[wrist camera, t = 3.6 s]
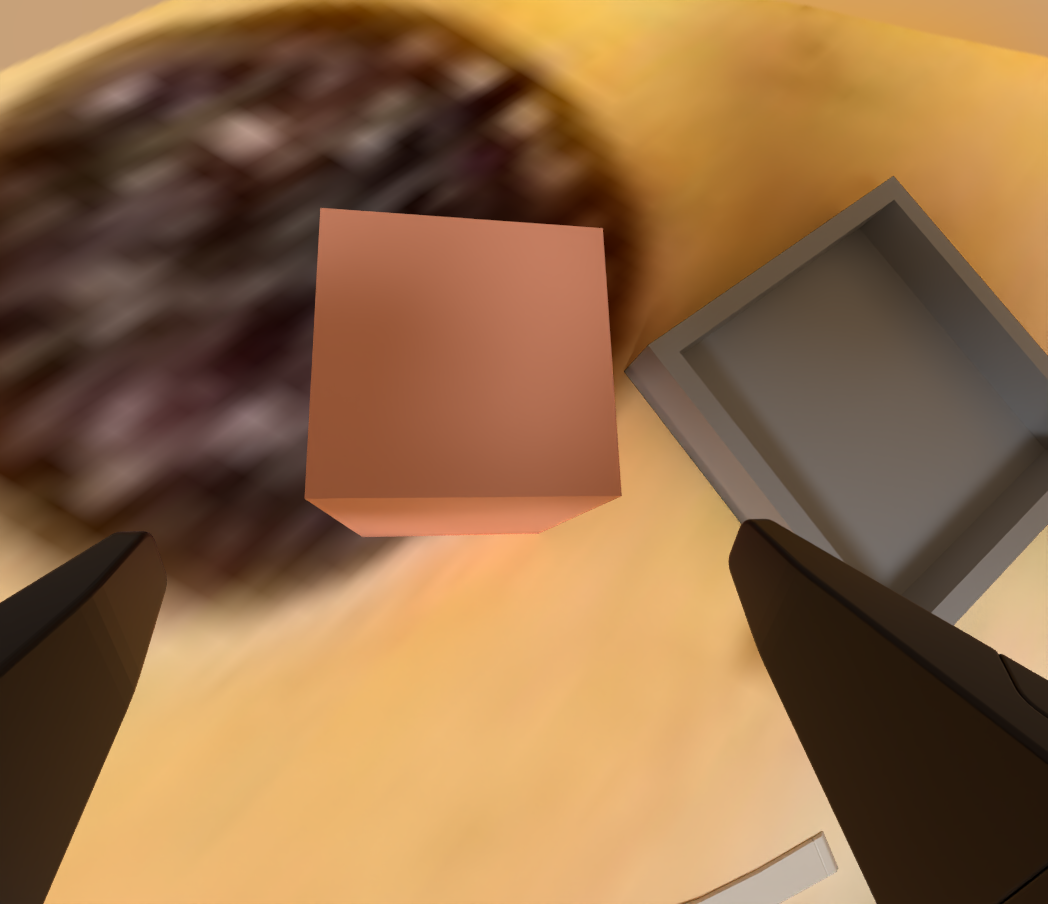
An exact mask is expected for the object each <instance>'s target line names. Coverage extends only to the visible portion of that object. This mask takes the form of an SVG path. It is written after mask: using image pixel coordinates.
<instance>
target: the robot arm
mask: <svg viewBox="0 0 1048 904" xmlns="http://www.w3.org/2000/svg"><path fill="white" fill-rule="evenodd" d="M729 569H730V573H731V575H732V578H733V581H734V584H735V587H736V590H737V593H738V595H739V598H740V601H741V604H742V607H743V610H744V613H745V615H746V618H747V621H748V624H749V627H750V630H751V633H752V636H753V638H754V641H755V644H756V646H757V649H758V651H759V654H760V656H761V658H762V660H763V663H764V665H765V667H766V669H767V671H768V674H769V676H770V678H771V680H772V682H773V684H774V686H775V688H776V691H777V693H778V695H779V697H780V699H781V701H782V703H783V705H784V708H785V710H786V712H787V714H788V716H789V718H790V720H791V722H792V725H793V727H794V729H795V731H796V733H797V735H798V737H799V739H800V742H801V744H802V746H803V748H804V750H805V752H806V754H807V757H808V759H809V761H810V763H811V765H812V767H813V769H814V771H815V774H816V776H817V778H818V780H819V782H820V784H821V786H822V788H823V791H824V793H825V795H826V797H827V799H828V801H829V803H830V805H831V808H832V810H833V812H834V814H835V816H836V818H837V820H838V822H839V825H840V827H841V829H842V831H843V833H844V835H845V837H846V839H847V842H848V844H849V846H850V848H851V850H852V852H853V854H854V857H855V859H856V861H857V863H858V865H859V867H860V869H861V871H862V874H863V876H864V878H865V880H866V882H867V884H868V886H869V888H870V891H871V893H872V895H873V897H874V899H875V901H876V903H877V904H1048V680H1046V679H1045V678H1043V677H1041V676H1039V675H1038V674H1036V673H1034V672H1032V671H1031V670H1029V669H1027V668H1025V667H1024V666H1022V665H1020V664H1019V663H1017V662H1015V661H1013V660H1012V659H1010V658H1008V657H1007V656H1005V655H1003V654H998V653H997V651H996V650H994V649H993V648H991V647H989V646H987V645H986V644H984V643H982V642H981V641H979V640H977V639H975V638H974V637H972V636H970V635H969V634H967V633H965V632H963V631H962V630H960V629H958V628H957V627H955V626H953V625H951V624H950V623H948V622H946V621H944V620H943V619H941V618H939V617H938V616H936V615H934V614H932V613H931V612H929V611H927V610H926V609H924V608H922V607H920V606H919V605H917V604H915V603H913V602H912V601H910V600H908V599H907V598H905V597H903V596H901V595H900V594H898V593H896V592H895V591H893V590H891V589H889V588H888V587H886V586H884V585H883V584H881V583H879V582H877V581H876V580H874V579H872V578H870V577H869V576H867V575H865V574H864V573H862V572H860V571H858V570H857V569H855V568H853V567H852V566H850V565H848V564H846V563H845V562H843V561H841V560H840V559H838V558H836V557H834V556H833V555H831V554H829V553H827V552H826V551H824V550H822V549H821V548H819V547H817V546H815V545H814V544H812V543H810V542H809V541H807V540H805V539H803V538H802V537H800V536H798V535H797V534H795V533H793V532H791V531H790V530H788V529H786V528H785V527H783V526H781V525H779V524H778V523H776V522H774V521H772V520H770V519H748V520H745V521H744V522H743V523H742V524H741V526H740V528H739V531H738V534H737V536H736V539H735V542H734V544H733V547H732V550H731V552H730V555H729ZM166 585H167V578H166V572H165V569H164V566H163V563H162V560H161V557H160V554H159V551H158V548H157V545H156V542H155V540H154V538H153V536H152V535H151V534H150V533H148V532H144V531H139V532H117V533H114V534H112V535H110V536H108V537H107V538H105V539H103V540H102V541H100V542H99V543H97V544H95V545H94V546H92V547H90V548H89V549H87V550H86V551H84V552H82V553H81V554H79V555H77V556H76V557H74V558H72V559H71V560H69V561H68V562H66V563H64V564H63V565H61V566H59V567H58V568H56V569H55V570H53V571H51V572H50V573H48V574H46V575H45V576H43V577H41V578H40V579H38V580H37V581H35V582H33V583H32V584H30V585H28V586H27V587H25V588H24V589H22V590H20V591H19V592H17V593H15V594H14V595H12V596H10V597H9V598H7V599H6V600H4V601H2V602H1V603H0V904H43V903H44V901H45V899H46V896H47V894H48V892H49V890H50V887H51V885H52V883H53V880H54V878H55V876H56V873H57V871H58V869H59V866H60V864H61V862H62V859H63V857H64V855H65V853H66V850H67V848H68V846H69V843H70V841H71V839H72V836H73V834H74V832H75V829H76V827H77V825H78V822H79V820H80V818H81V816H82V813H83V811H84V809H85V806H86V804H87V802H88V799H89V797H90V795H91V792H92V790H93V788H94V786H95V783H96V781H97V779H98V776H99V774H100V772H101V769H102V767H103V765H104V762H105V760H106V758H107V755H108V753H109V751H110V749H111V746H112V744H113V742H114V739H115V737H116V735H117V732H118V730H119V728H120V725H121V723H122V721H123V718H124V716H125V714H126V712H127V709H128V707H129V704H130V702H131V699H132V697H133V694H134V692H135V689H136V686H137V683H138V680H139V677H140V674H141V671H142V667H143V664H144V661H145V657H146V654H147V651H148V647H149V644H150V641H151V638H152V634H153V631H154V628H155V624H156V621H157V618H158V614H159V611H160V608H161V604H162V601H163V598H164V594H165V591H166Z"/></svg>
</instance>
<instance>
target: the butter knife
mask: <svg viewBox="0 0 1048 904" xmlns="http://www.w3.org/2000/svg"><path fill="white" fill-rule="evenodd" d="M837 870H838V866H837V864H836V861H835V859H834V856H833V854H832V852H831V849H830V847H829V844H828V842H827V840H826V837H825V835H824V833H823V831H821V832H820V833H819V834H818V835H816V836H814V837H813V838H812V839H809V840H807V841H806V842H804V843H802V844H800V845H799V846H797V847H795V848H794V849H792V850H790V851H788V852H787V853H785V854H783V855H782V856H780V857H778V858H776V859H775V860H773V861H771V862H769V863H768V864H766V865H764V866H762V867H761V868H759V869H757V870H755V871H753V872H751V873H749V874H747V875H745V876H743V877H741V878H739V879H737V880H735V881H733V882H731V883H729V884H727V885H725V886H723V887H721V888H719V889H717V890H715V891H713V892H711V893H709V894H707V895H705V896H703V897H701V898H699V899H696V900H693V901H690V902H687V903H685V904H780V903H781V902H783V901H785V900H787V899H789V898H791V897H792V896H794V895H796V894H798V893H800V892H801V891H803V890H805V889H807V888H809V887H811V886H812V885H814V884H816V883H818V882H820V881H821V880H823V879H825V878H827V877H828V876H830V875H832V874H834V873H836V872H837Z"/></svg>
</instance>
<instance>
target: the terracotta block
mask: <svg viewBox="0 0 1048 904" xmlns="http://www.w3.org/2000/svg"><path fill="white" fill-rule="evenodd" d="M620 496H622V494H621V480H620V466H619V452H618V437H617V423H616V409H615V395H614V381H613V367H612V353H611V338H610V324H609V310H608V296H607V282H606V268H605V254H604V239H603V228H593V227H579V226H565V225H551V224H537V223H523V222H509V221H495V220H481V219H467V218H453V217H439V216H425V215H411V214H397V213H383V212H369V211H355V210H341V209H327V208H321V209H320V227H319V246H318V264H317V282H316V301H315V319H314V338H313V356H312V374H311V393H310V411H309V429H308V448H307V466H306V485H305V499H306V500H307V501H309V502H310V503H312V504H313V505H315V506H317V507H318V508H320V509H321V510H323V511H324V512H326V513H327V514H329V515H330V516H332V517H333V518H335V519H336V520H338V521H339V522H341V523H342V524H344V525H345V526H347V527H348V528H350V529H351V530H353V531H354V532H356V533H357V534H359V535H360V536H362V537H386V536H438V535H489V534H539V533H541V532H543V531H545V530H548V529H550V528H552V527H554V526H556V525H559V524H561V523H563V522H565V521H567V520H570V519H572V518H574V517H576V516H578V515H581V514H583V513H585V512H587V511H590V510H592V509H594V508H596V507H598V506H601V505H603V504H605V503H607V502H609V501H612V500H614V499H616V498H618V497H620Z"/></svg>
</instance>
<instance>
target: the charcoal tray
mask: <svg viewBox="0 0 1048 904" xmlns="http://www.w3.org/2000/svg"><path fill="white" fill-rule="evenodd" d="M624 372H625V373H626V375H627V376H628V377H629V378H630V380H631V381H632V382H633V384H634V385H635V386H636V388H637V389H638V390H639V391H640V393H641V394H642V395H643V397H644V398H645V399H646V401H647V402H648V403H649V404H650V406H651V407H652V408H653V410H654V411H655V412H656V414H657V415H658V416H659V417H660V419H661V420H662V421H663V423H664V424H665V425H666V427H667V428H668V429H669V430H670V432H671V433H672V434H673V436H674V437H675V438H676V440H677V441H678V442H679V443H680V445H681V446H682V447H683V449H684V450H685V451H686V453H687V454H688V455H689V456H690V458H691V459H692V460H693V462H694V463H695V464H696V466H697V467H698V468H699V469H700V471H701V472H702V473H703V475H704V476H705V477H706V478H707V480H708V481H709V482H710V484H711V485H712V486H713V488H714V489H715V490H716V491H717V493H718V494H719V495H720V497H721V498H722V499H723V501H724V502H725V503H726V504H727V506H728V507H729V508H730V510H731V511H732V512H733V514H734V515H735V516H736V517H737V519H738V520H739V521H740V523H741V524H742V523H743V522H744V521H745V520H748V519H770V520H772V521H774V522H776V523H778V524H779V525H781V526H783V527H785V528H786V529H788V530H790V531H791V532H793V533H795V534H797V535H798V536H800V537H802V538H803V539H805V540H807V541H809V542H810V543H812V544H814V545H815V546H817V547H819V548H821V549H822V550H824V551H826V552H827V553H829V554H831V555H833V556H834V557H836V558H838V559H840V560H841V561H843V562H845V563H846V564H848V565H850V566H852V567H853V568H855V569H857V570H858V571H860V572H862V573H864V574H865V575H867V576H869V577H870V578H872V579H874V580H876V581H877V582H879V583H881V584H883V585H884V586H886V587H888V588H889V589H891V590H893V591H895V592H896V593H898V594H900V595H901V596H903V597H905V598H907V599H908V600H910V601H912V602H913V603H915V604H917V605H919V606H920V607H922V608H924V609H926V610H927V611H929V612H931V613H932V614H934V615H936V616H938V617H939V618H941V619H943V620H944V621H946V622H948V623H950V624H951V625H953V626H954V625H955V623H956V622H957V621H958V620H959V619H960V618H961V617H962V616H963V615H964V614H965V613H966V612H967V611H968V609H969V608H970V607H971V606H972V605H973V604H974V603H975V602H976V601H977V600H978V599H979V598H980V597H981V596H982V594H983V593H984V592H985V591H986V590H987V589H988V588H989V587H990V586H991V585H992V584H993V583H994V582H995V580H996V579H997V578H998V577H999V576H1000V575H1001V574H1002V573H1003V572H1004V571H1005V570H1006V569H1007V568H1008V567H1009V565H1010V564H1011V563H1012V562H1013V561H1014V560H1015V559H1016V558H1017V557H1018V556H1019V555H1020V554H1021V553H1022V552H1023V550H1024V549H1025V548H1026V547H1027V546H1028V545H1029V544H1030V543H1031V542H1032V541H1033V540H1034V539H1035V538H1036V536H1037V535H1038V534H1039V533H1040V532H1041V531H1042V530H1043V529H1044V528H1045V527H1046V526H1047V525H1048V356H1047V355H1046V353H1045V352H1044V351H1043V350H1042V349H1041V348H1040V346H1039V345H1038V344H1037V343H1036V342H1035V341H1034V339H1033V338H1032V337H1031V336H1030V335H1029V334H1028V332H1027V331H1026V330H1025V329H1024V328H1023V327H1022V325H1021V324H1020V323H1019V322H1018V321H1017V320H1016V318H1015V317H1014V316H1013V315H1012V314H1011V313H1010V311H1009V310H1008V309H1007V308H1006V307H1005V305H1004V304H1003V303H1002V302H1001V301H1000V300H999V298H998V297H997V296H996V295H995V294H994V293H993V291H992V290H991V289H990V288H989V287H988V286H987V284H986V283H985V282H984V281H983V280H982V279H981V277H980V276H979V275H978V274H977V273H976V272H975V270H974V269H973V268H972V267H971V266H970V265H969V263H968V262H967V261H966V260H965V259H964V258H963V256H962V255H961V254H960V253H959V252H958V251H957V249H956V248H955V247H954V246H953V245H952V244H951V242H950V241H949V240H948V239H947V238H946V237H945V235H944V234H943V233H942V232H941V231H940V230H939V228H938V227H937V226H936V225H935V224H934V223H933V221H932V220H931V219H930V218H929V217H928V216H927V214H926V213H925V212H924V211H923V210H922V209H921V207H920V206H919V205H918V204H917V203H916V202H915V200H914V199H913V198H912V197H911V196H910V195H909V193H908V192H907V191H906V190H905V189H904V188H903V186H902V185H901V184H900V183H899V182H898V181H897V179H896V178H895V177H894V176H893V177H891V178H890V179H888V180H887V181H885V182H884V183H882V184H881V185H880V186H878V187H877V188H875V189H874V190H872V191H871V192H869V193H868V194H867V195H865V196H864V197H862V198H861V199H859V200H858V201H856V202H855V203H854V204H852V205H851V206H849V207H848V208H846V209H845V210H843V211H842V212H840V213H839V214H838V215H836V216H835V217H833V218H832V219H830V220H829V221H827V222H826V223H825V224H823V225H822V226H820V227H819V228H817V229H816V230H814V231H813V232H811V233H810V234H809V235H807V236H806V237H804V238H803V239H801V240H800V241H798V242H797V243H796V244H794V245H793V246H791V247H790V248H788V249H787V250H785V251H784V252H782V253H781V254H780V255H778V256H777V257H775V258H774V259H772V260H771V261H769V262H768V263H767V264H765V265H764V266H762V267H761V268H759V269H758V270H756V271H755V272H754V273H752V274H751V275H749V276H748V277H746V278H745V279H743V280H742V281H740V282H739V283H738V284H736V285H735V286H733V287H732V288H730V289H729V290H727V291H726V292H725V293H723V294H722V295H720V296H719V297H717V298H716V299H714V300H713V301H711V302H710V303H709V304H707V305H706V306H704V307H703V308H701V309H700V310H698V311H697V312H696V313H694V314H693V315H691V316H690V317H688V318H687V319H685V320H684V321H683V322H681V323H680V324H678V325H677V326H675V327H674V328H672V329H671V330H669V331H668V332H667V333H665V334H664V335H662V336H661V337H659V338H658V339H656V340H655V341H654V342H652V343H651V344H649V345H648V346H647V347H646V348H645V349H644V350H643V351H642V352H641V354H640V355H639V356H638V357H637V358H636V359H635V360H634V361H633V362H632V363H631V364H630V366H629V367H628V368H627V369H626V370H625V371H624Z"/></svg>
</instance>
